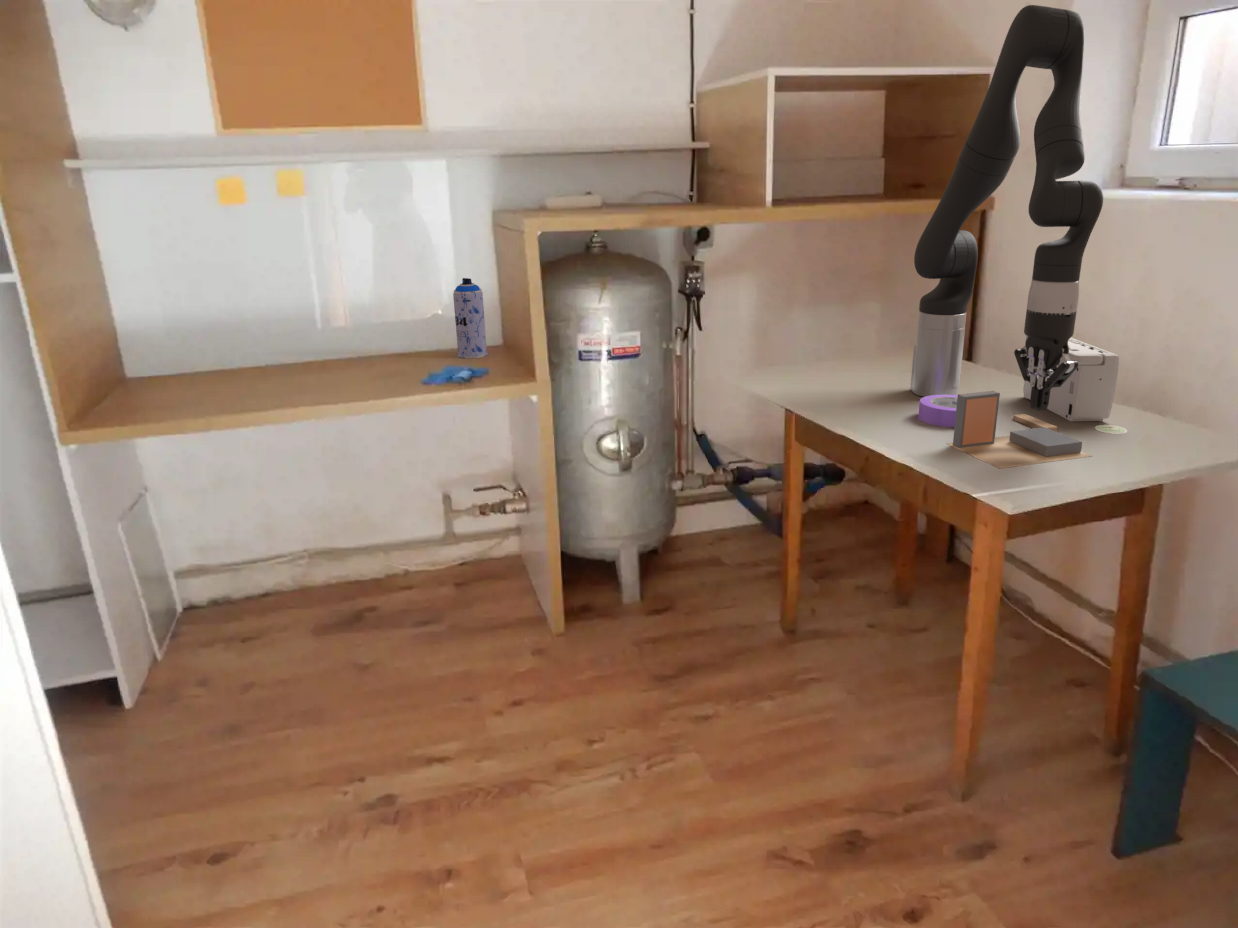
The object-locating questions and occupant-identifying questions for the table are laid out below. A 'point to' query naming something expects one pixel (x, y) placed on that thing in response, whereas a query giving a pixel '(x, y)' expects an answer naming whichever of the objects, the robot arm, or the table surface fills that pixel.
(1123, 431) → the sign
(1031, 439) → the slate tile far
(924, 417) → the masking tape
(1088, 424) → the table surface
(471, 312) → the aerosol can
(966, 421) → the slate tile near
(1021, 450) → the cork mat
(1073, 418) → the stereo radio cassette player
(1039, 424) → the wooden turner
